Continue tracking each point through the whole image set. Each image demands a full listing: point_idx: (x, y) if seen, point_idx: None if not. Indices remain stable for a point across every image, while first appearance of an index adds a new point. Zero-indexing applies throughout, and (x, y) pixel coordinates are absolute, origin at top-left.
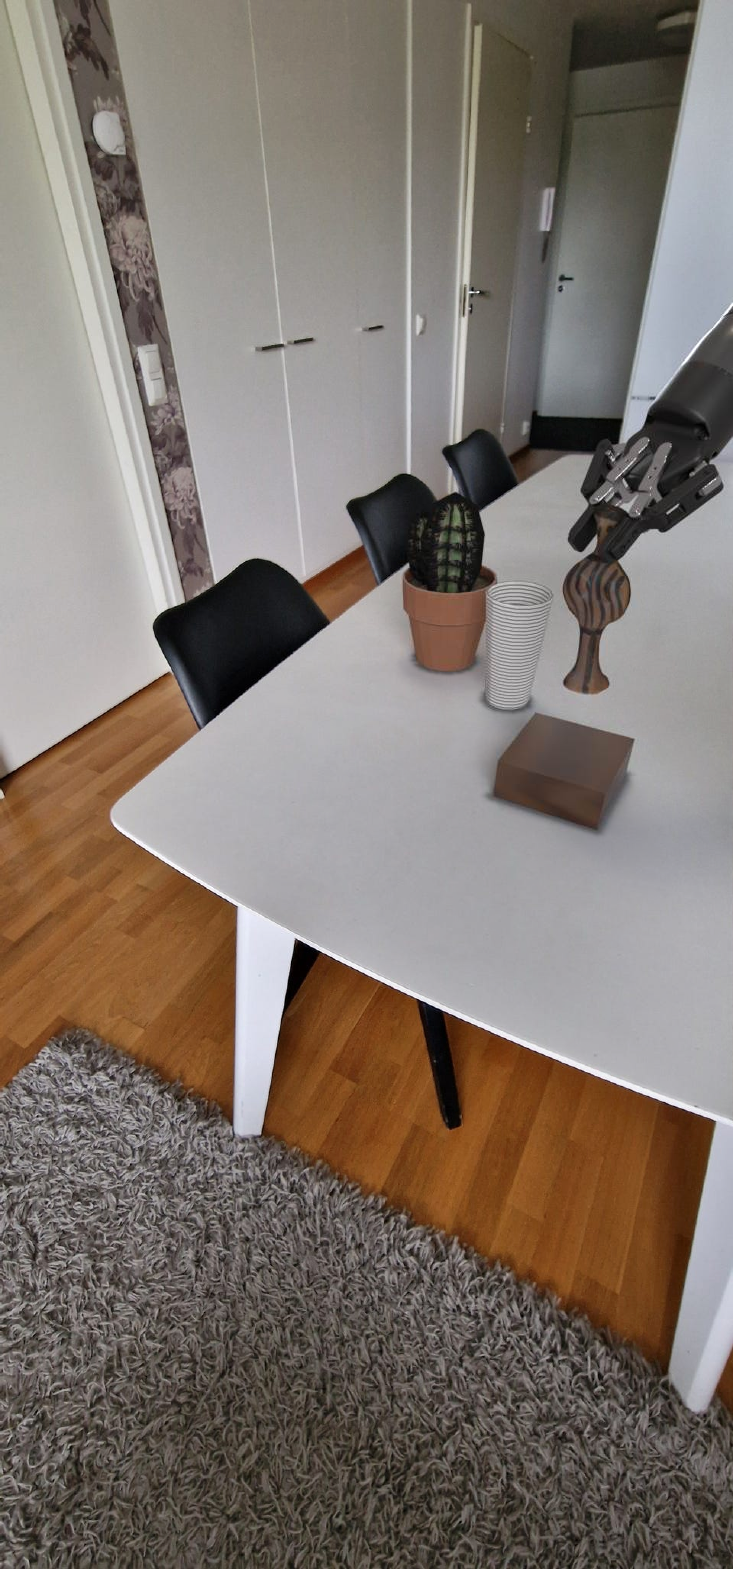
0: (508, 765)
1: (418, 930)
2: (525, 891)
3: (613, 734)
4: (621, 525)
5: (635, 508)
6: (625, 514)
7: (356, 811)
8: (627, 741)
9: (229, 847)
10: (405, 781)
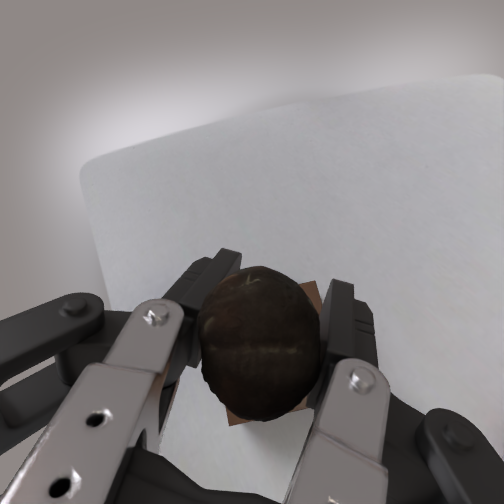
0: (303, 283)
1: (256, 143)
2: (223, 214)
3: None
4: (195, 285)
5: (156, 313)
6: (197, 318)
7: (380, 193)
8: (232, 413)
9: (410, 107)
10: (384, 251)
